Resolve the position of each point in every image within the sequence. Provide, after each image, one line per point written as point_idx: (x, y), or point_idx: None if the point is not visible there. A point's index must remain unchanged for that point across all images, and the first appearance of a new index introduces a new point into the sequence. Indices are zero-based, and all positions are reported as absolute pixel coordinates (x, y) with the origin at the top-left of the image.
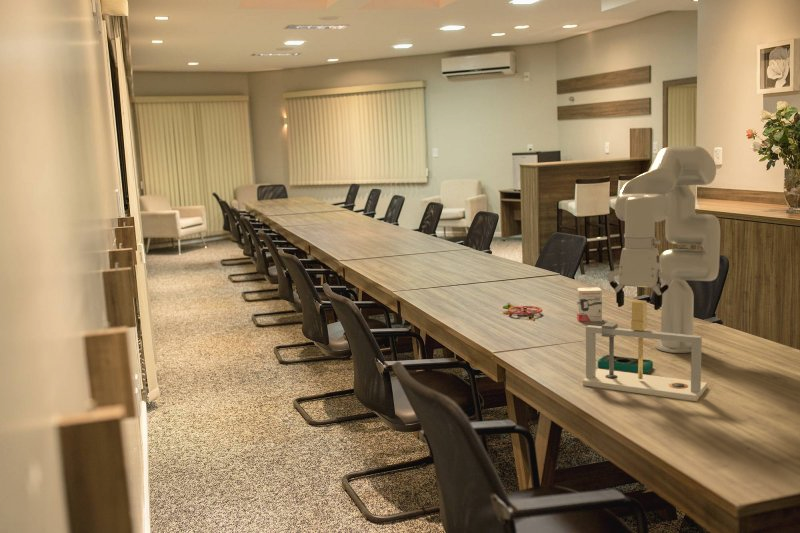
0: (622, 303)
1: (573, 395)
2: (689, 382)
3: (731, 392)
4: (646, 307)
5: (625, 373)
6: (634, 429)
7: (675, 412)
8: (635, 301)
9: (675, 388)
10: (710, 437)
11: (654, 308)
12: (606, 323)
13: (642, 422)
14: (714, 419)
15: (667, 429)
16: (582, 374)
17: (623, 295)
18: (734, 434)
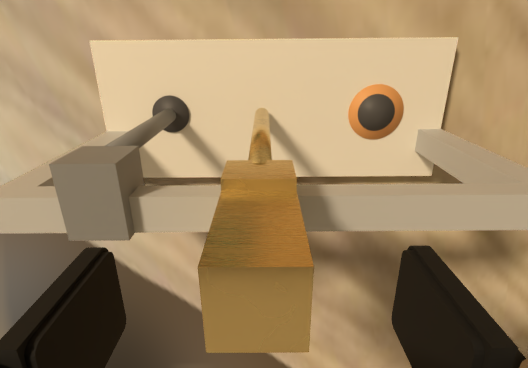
0: (111, 298)
1: (142, 250)
2: (404, 63)
3: (519, 49)
4: (305, 233)
5: (194, 56)
6: (327, 360)
7: (385, 258)
8: (225, 323)
9: (371, 141)
10: None
11: (395, 328)
12: (62, 189)
13: (332, 329)
14: (467, 263)
15: (382, 340)
16: (62, 72)
17: (67, 328)
18: (502, 317)
